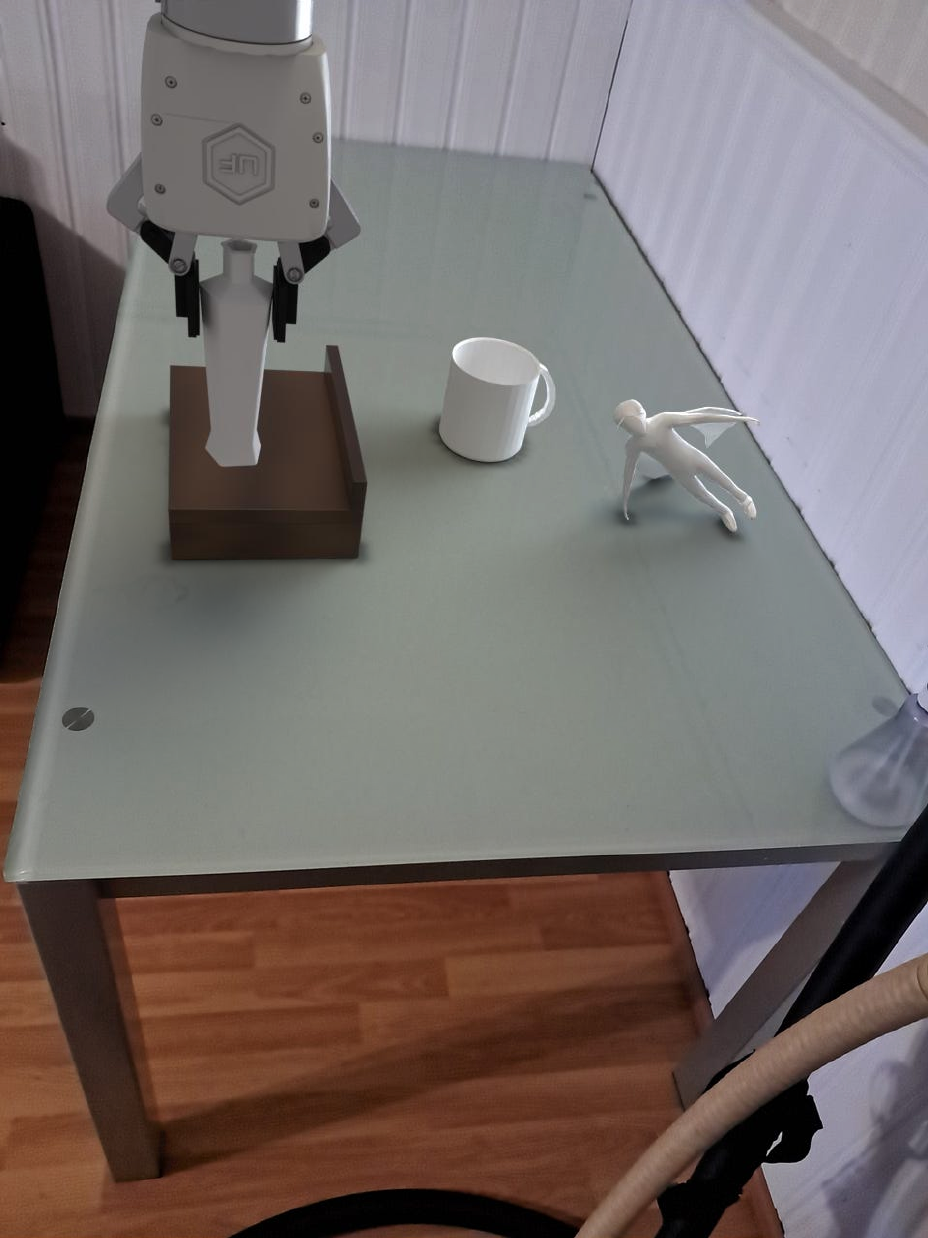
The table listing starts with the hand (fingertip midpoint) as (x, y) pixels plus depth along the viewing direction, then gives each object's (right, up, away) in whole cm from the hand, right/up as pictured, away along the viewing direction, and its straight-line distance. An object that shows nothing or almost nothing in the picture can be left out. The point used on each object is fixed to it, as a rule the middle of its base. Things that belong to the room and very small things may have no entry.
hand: (236, 326), depth 61 cm
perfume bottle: (-2, -7, +7) cm, 10 cm away
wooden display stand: (-5, -6, +30) cm, 31 cm away
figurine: (+34, -7, +39) cm, 52 cm away
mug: (+18, +1, +42) cm, 46 cm away
